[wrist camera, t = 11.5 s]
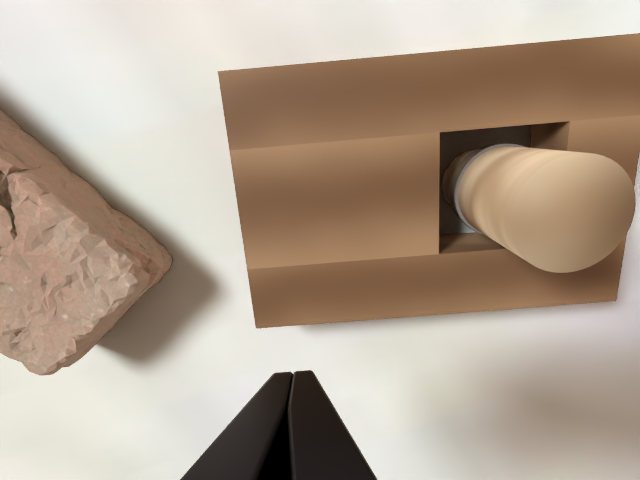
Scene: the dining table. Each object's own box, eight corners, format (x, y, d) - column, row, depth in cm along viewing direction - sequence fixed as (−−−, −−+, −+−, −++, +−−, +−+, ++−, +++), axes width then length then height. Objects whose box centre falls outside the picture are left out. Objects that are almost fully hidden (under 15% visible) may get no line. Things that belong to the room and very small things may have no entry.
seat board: (576, 277, 21) (616, 300, 19) (264, 302, 22) (255, 328, 19) (604, 47, 18) (658, 31, 15) (233, 80, 18) (218, 71, 15)
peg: (511, 217, 20) (628, 270, 13) (434, 223, 20) (504, 280, 13) (516, 138, 19) (648, 143, 12) (434, 145, 19) (512, 155, 12)
